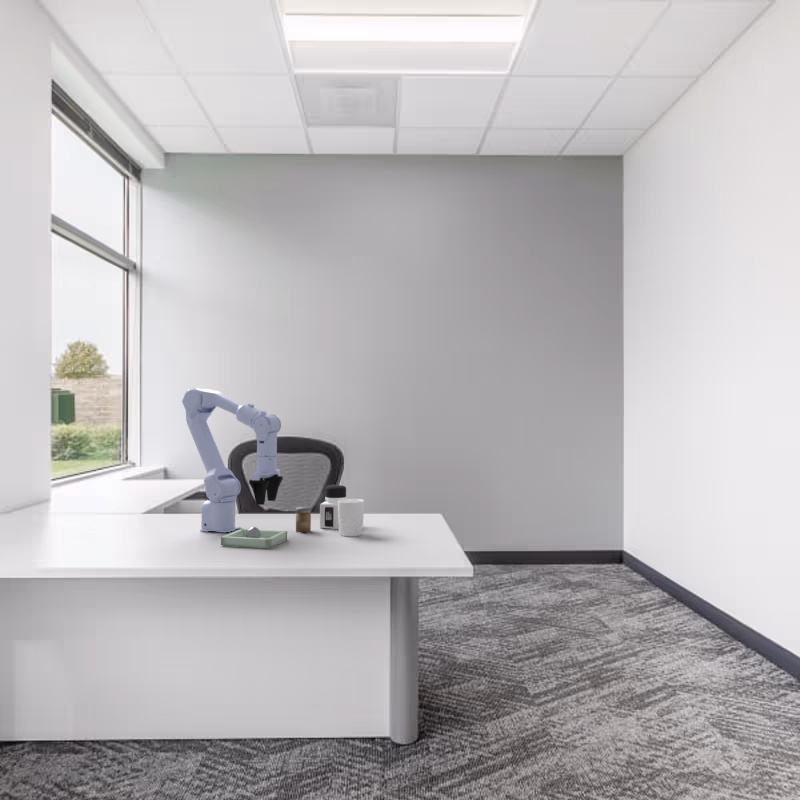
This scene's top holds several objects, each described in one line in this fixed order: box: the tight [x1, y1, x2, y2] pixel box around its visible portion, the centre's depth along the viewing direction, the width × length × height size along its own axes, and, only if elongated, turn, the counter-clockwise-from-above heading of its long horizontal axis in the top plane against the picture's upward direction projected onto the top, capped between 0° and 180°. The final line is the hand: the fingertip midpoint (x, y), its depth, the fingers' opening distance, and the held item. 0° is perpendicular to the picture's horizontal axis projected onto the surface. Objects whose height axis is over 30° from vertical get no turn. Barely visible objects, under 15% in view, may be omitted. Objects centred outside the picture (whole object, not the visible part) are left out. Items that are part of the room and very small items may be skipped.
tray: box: [220, 528, 288, 550], centre depth 175 cm, size 14×12×2 cm
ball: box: [246, 526, 261, 538], centre depth 174 cm, size 4×4×4 cm
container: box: [319, 484, 347, 530], centre depth 200 cm, size 8×8×13 cm
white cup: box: [338, 498, 365, 537], centre depth 188 cm, size 8×8×10 cm
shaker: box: [295, 506, 312, 534], centre depth 192 cm, size 5×5×7 cm
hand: (266, 502), depth 187 cm, fingers open, 7 cm apart
